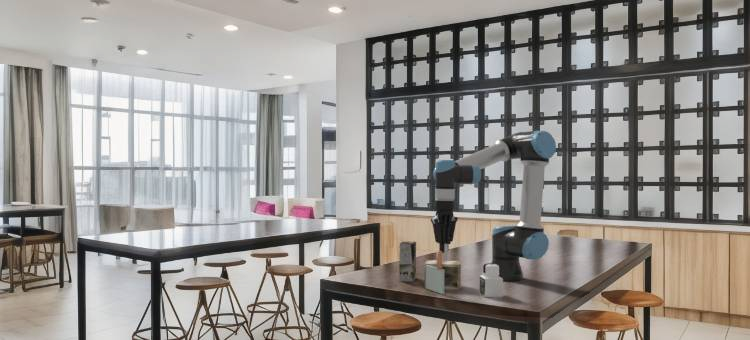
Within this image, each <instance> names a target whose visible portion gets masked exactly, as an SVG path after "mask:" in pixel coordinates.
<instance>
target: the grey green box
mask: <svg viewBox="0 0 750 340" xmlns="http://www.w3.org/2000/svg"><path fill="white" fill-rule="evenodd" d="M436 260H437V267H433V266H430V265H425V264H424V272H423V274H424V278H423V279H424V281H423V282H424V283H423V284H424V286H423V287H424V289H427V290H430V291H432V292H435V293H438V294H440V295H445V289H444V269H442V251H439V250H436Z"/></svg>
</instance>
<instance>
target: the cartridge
mask: <svg viewBox="0 0 750 340" xmlns="http://www.w3.org/2000/svg"><path fill="white" fill-rule="evenodd" d="M444 285H447V286H449V276H444Z"/></svg>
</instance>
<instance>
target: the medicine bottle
mask: <svg viewBox="0 0 750 340" xmlns="http://www.w3.org/2000/svg"><path fill="white" fill-rule="evenodd" d="M482 268H483V269H482V272H483V273H482V274H481V275H479V294H480V295H481V296H482V297H484V298H503V297H504V281H503V278H501V277H499V276H498V275H499V265H497V264H493V263H491V262H490V263H484V264H483V265H482Z"/></svg>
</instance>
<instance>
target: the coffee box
mask: <svg viewBox="0 0 750 340" xmlns="http://www.w3.org/2000/svg"><path fill="white" fill-rule="evenodd" d="M398 253H399V262H398V264H399V265H398V266H399V268H398V269H399V270H398V275H399V276H398V281H399V282H410V283H411V282H412V283H414V281H415V280H416V278H417V241H401V242H400V243H399V252H398Z"/></svg>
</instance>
